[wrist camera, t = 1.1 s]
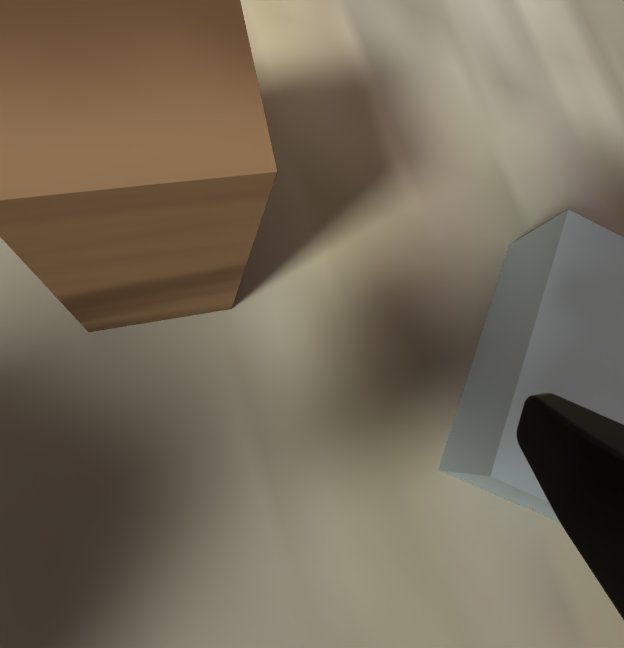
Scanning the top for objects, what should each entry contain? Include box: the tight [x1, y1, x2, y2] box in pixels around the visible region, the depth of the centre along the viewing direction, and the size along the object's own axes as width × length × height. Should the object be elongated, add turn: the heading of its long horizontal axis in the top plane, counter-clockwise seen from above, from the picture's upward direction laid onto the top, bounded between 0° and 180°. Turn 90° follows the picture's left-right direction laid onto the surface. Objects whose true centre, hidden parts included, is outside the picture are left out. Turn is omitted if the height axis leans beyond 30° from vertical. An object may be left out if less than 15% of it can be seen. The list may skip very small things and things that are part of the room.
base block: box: [438, 209, 624, 522], centre depth 23 cm, size 11×11×4 cm
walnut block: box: [0, 0, 277, 332], centre depth 16 cm, size 6×6×12 cm
